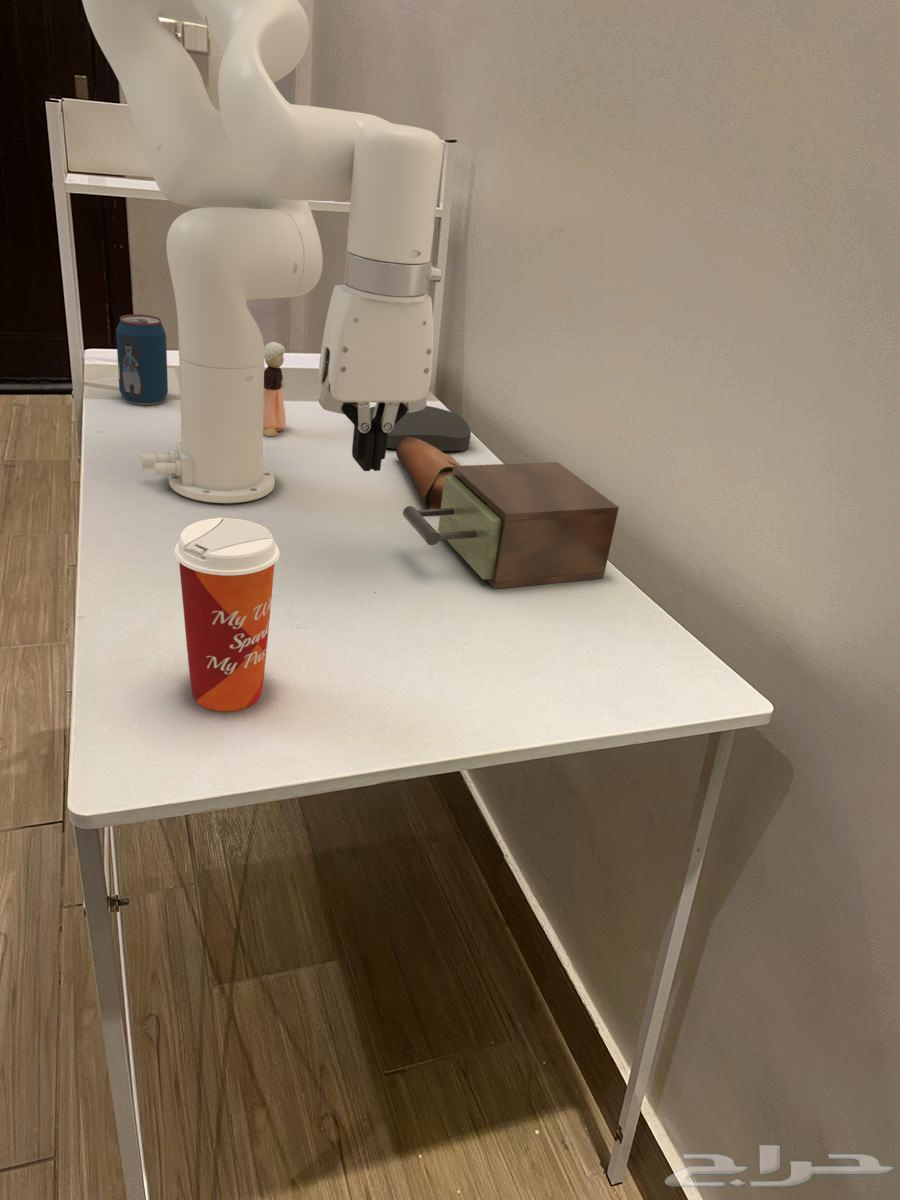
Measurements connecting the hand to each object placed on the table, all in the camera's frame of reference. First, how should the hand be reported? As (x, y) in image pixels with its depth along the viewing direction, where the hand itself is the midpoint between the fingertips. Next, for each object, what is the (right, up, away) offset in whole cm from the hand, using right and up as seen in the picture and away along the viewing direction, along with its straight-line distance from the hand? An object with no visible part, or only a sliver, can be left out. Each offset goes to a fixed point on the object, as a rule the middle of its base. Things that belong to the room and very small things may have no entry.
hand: (367, 465), depth 91 cm
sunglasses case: (+7, +1, +29) cm, 30 cm away
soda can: (-38, +17, +46) cm, 62 cm away
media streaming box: (+3, +11, +46) cm, 47 cm away
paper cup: (-10, -21, -17) cm, 29 cm away
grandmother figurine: (-18, +11, +41) cm, 46 cm away
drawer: (+12, -8, +10) cm, 18 cm away
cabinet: (+16, -9, +12) cm, 22 cm away
